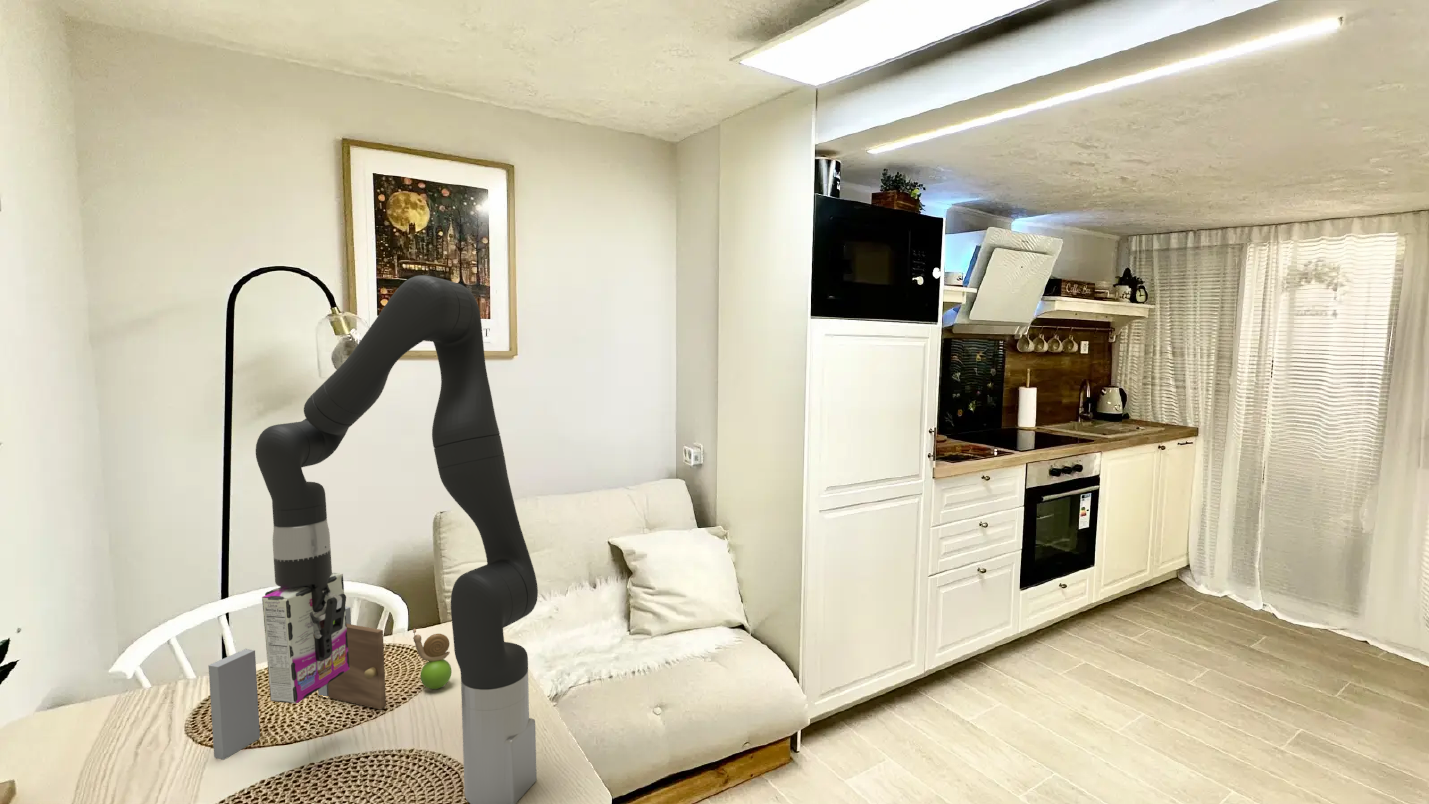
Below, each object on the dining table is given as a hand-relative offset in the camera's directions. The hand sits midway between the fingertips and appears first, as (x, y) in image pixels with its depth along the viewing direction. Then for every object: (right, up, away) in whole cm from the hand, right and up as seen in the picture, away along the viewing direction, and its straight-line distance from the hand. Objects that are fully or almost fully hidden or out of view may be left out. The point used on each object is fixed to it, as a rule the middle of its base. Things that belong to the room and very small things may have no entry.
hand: (309, 656), depth 104 cm
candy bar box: (0, -5, 0) cm, 5 cm away
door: (-1, -14, +16) cm, 21 cm away
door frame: (-10, -15, +12) cm, 22 cm away
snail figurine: (+10, -15, +22) cm, 28 cm away
